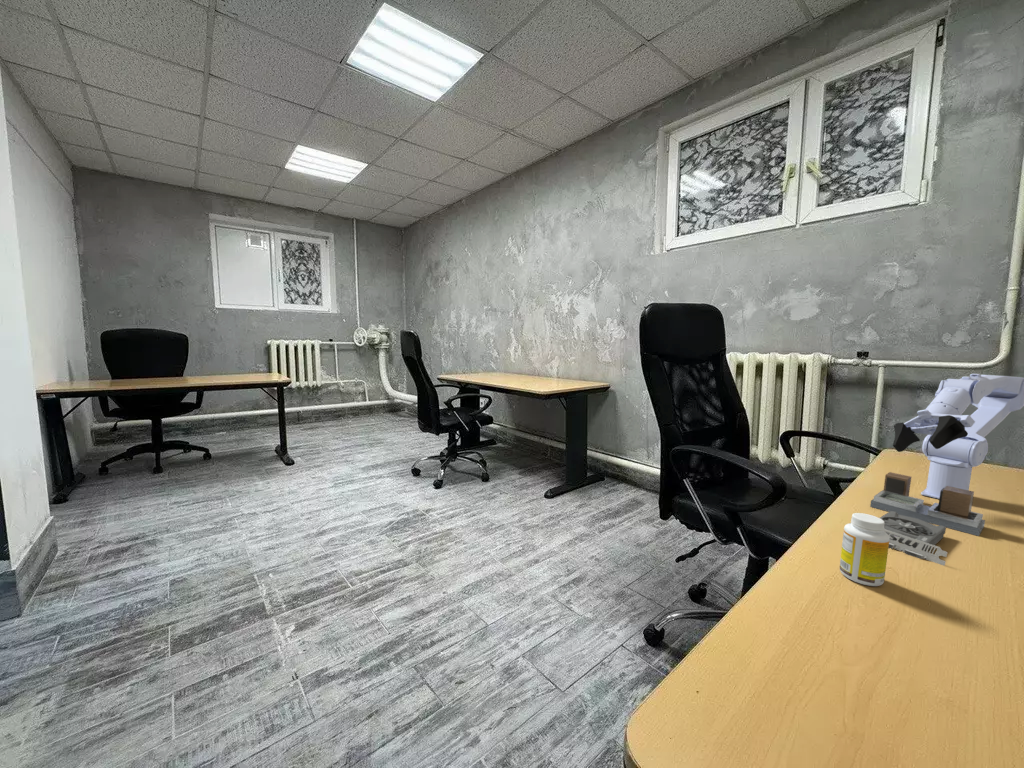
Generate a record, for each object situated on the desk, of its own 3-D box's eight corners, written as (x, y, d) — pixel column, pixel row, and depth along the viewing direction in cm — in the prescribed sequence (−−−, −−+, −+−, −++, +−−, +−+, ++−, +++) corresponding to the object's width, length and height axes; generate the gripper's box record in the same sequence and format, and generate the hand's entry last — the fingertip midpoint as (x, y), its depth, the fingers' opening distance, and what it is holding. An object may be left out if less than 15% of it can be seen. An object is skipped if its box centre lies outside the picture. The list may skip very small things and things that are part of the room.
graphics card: (946, 551, 70) (858, 522, 80) (942, 571, 70) (855, 540, 80) (968, 529, 79) (887, 505, 89) (965, 547, 79) (885, 522, 89)
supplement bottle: (890, 582, 65) (899, 522, 64) (872, 591, 63) (881, 528, 61) (849, 565, 70) (856, 508, 69) (831, 572, 68) (838, 513, 66)
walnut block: (886, 494, 104) (889, 472, 103) (908, 499, 101) (911, 476, 100) (882, 498, 102) (885, 475, 101) (903, 503, 98) (907, 479, 98)
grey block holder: (879, 499, 100) (883, 470, 99) (984, 526, 86) (989, 492, 86) (870, 506, 96) (874, 476, 95) (978, 536, 82) (984, 500, 81)
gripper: (898, 405, 104) (870, 436, 101) (968, 392, 91) (939, 428, 87) (917, 427, 104) (890, 459, 100) (991, 417, 90) (963, 455, 86)
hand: (914, 446), depth 93 cm, fingers open, 7 cm apart
